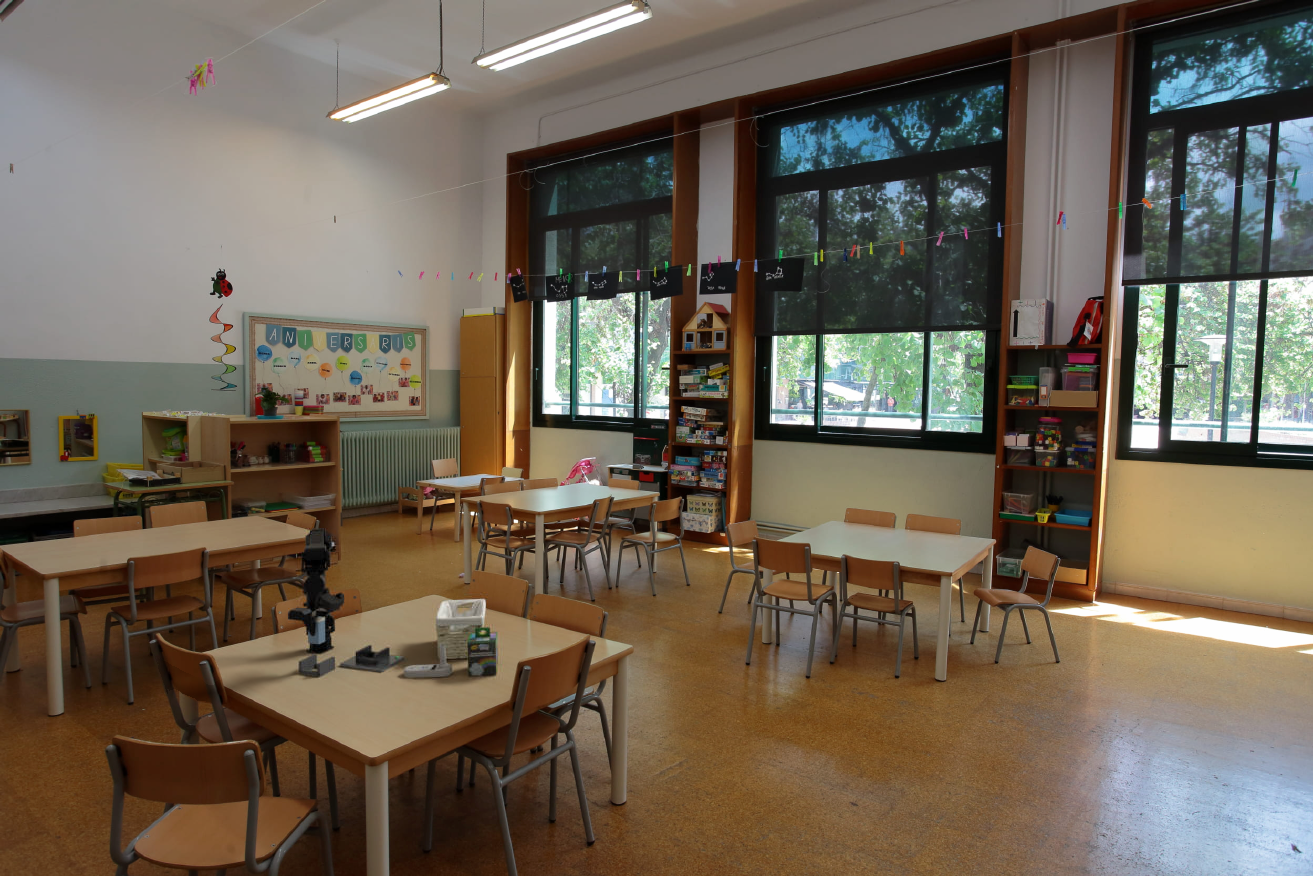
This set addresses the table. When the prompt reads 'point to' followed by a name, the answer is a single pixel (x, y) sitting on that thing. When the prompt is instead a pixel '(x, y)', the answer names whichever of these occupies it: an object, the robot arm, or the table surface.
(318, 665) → the holster
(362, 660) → the port
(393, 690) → the table surface
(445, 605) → the storage basket
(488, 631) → the chalk box
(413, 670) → the electronic device
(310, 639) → the plug
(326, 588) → the robot arm
